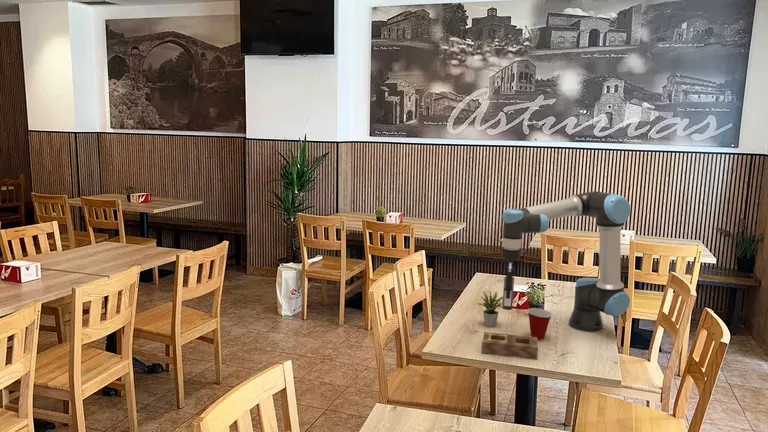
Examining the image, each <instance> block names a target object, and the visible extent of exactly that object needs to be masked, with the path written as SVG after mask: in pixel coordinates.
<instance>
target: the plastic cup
mask: <svg viewBox="0 0 768 432" xmlns="http://www.w3.org/2000/svg"><path fill="white" fill-rule="evenodd" d="M527 313H528V321H529V330H530V337H537V341H538V340H542V341H543V340H544V339H545V337H546V334H547V333H546V332H547V330H548V326H549V324H550V320H551V319H552V317H553V313H552V312H551V311H549V310H546V309H542V308H538V307H537V308H536V307H531V308H528V309H527Z"/></svg>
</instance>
